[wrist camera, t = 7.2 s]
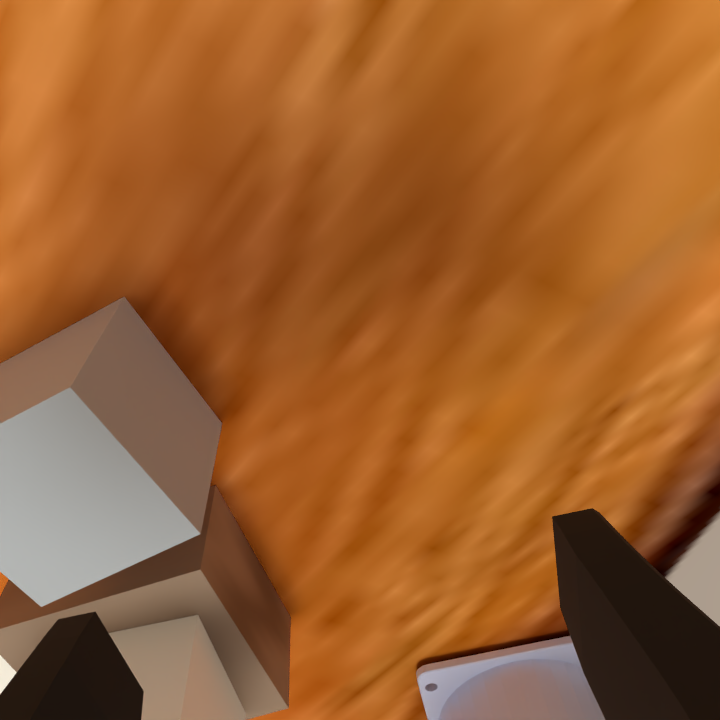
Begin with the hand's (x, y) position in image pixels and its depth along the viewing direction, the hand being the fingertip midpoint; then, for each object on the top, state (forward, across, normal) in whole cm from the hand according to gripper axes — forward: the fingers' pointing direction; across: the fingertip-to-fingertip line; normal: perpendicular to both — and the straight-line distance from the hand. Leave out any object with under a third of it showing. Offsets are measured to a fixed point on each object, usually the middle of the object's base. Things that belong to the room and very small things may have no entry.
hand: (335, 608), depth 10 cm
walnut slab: (+11, +8, +9) cm, 16 cm away
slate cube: (+10, +7, +1) cm, 13 cm away
